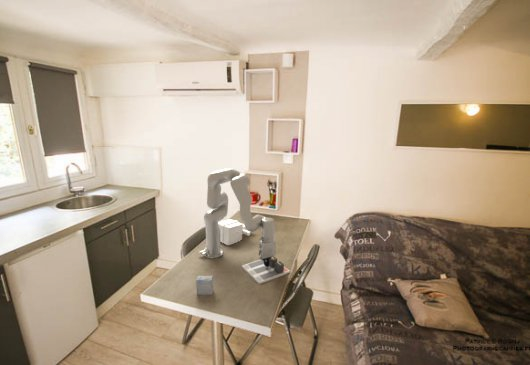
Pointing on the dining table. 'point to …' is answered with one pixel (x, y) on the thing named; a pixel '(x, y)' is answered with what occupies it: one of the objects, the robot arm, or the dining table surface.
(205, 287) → the medicine box
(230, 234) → the blocky voxel creature
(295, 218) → the dining table surface
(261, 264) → the panel
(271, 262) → the toggle
